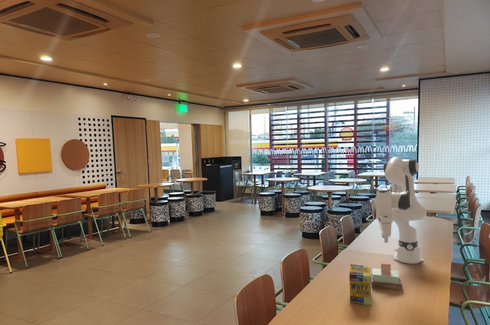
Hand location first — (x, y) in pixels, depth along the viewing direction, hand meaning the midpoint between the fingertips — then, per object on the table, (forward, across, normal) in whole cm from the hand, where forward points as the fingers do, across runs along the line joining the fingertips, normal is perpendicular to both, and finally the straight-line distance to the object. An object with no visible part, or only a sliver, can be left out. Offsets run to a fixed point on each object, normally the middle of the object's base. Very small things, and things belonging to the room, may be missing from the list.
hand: (384, 239), depth 188 cm
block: (+20, -1, 0) cm, 20 cm away
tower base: (+28, -1, 0) cm, 28 cm away
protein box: (+27, +18, -15) cm, 36 cm away
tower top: (+24, -1, 0) cm, 24 cm away
